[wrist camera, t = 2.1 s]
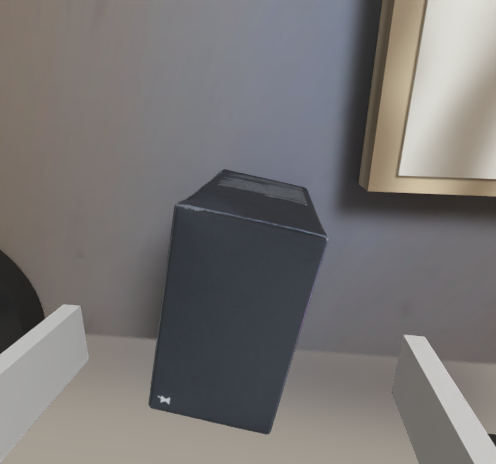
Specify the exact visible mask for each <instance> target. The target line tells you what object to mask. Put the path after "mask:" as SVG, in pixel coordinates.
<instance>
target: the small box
mask: <svg viewBox="0 0 496 464" xmlns="http://www.w3.org/2000/svg"><path fill="white" fill-rule="evenodd" d="M327 245H328V237H327V236H326V233H325V231H324V229H323V226H322V224H321V222H320V220H319V217H318V215H317V213H316V210H315V208H314V205H313V203H312V201H311V198H310V195H309V193H308V190H307V189H306V188H304V187H300V186H296V185H292V184H287V183H283V182H278V181H274V180H269V179H265V178H261V177H256V176H251V175H247V174H243V173H238V172H234V171H229V170H222V171H220V172H219V173H218V174H217V175H216V176H215V177H214V178H213V179H211V180H210V181H209V182H208V183H206V184H205V185H204V186H202V187H201V188H200V189H199V190H198V191H196V192H195V193H194V194H192V195H191V196H189V197H188V198H186V199H185V200H182V201H180V202H178V203H177V204H176V205H175V207H174V215H173V221H172V229H171V237H170V244H169V251H168V258H167V268H166V274H165V282H164V289H163V296H162V303H161V311H160V319H159V327H158V334H157V343H156V350H155V358H154V365H153V372H152V381H151V389H150V396H149V406H150V407H151V408H152V409H157V410H161V411H166V412H170V413H174V414H179V415H183V416H188V417H191V418H196V419H201V420H205V421H209V422H213V423H217V424H222V425H227V426H231V427H235V428H239V429H244V430H248V431H253V432H258V433H262V434H269V433H270V432H271V429H272V426H273V421H274V418H275V415H276V412H277V408H278V405H279V402H280V399H281V395H282V392H283V388H284V385H285V382H286V378H287V375H288V372H289V368H290V365H291V362H292V358H293V355H294V352H295V349H296V345H297V342H298V339H299V335H300V332H301V329H302V326H303V322H304V319H305V316H306V313H307V309H308V306H309V303H310V299H311V296H312V293H313V290H314V287H315V283H316V280H317V277H318V274H319V270H320V267H321V264H322V261H323V258H324V254H325V251H326V248H327Z"/></svg>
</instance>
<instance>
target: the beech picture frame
mask: <svg viewBox="0 0 496 464" xmlns="http://www.w3.org/2000/svg"><path fill="white" fill-rule="evenodd" d="M358 184H359V185H360V186H362V187H363V188H364V189H366V190H367V191H374V192H398V193H423V194H448V195H472V196H496V0H383V1H382V8H381V16H380V23H379V31H378V39H377V46H376V54H375V62H374V69H373V77H372V84H371V92H370V100H369V107H368V115H367V122H366V130H365V138H364V145H363V153H362V161H361V168H360V176H359V183H358Z"/></svg>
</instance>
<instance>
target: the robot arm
mask: <svg viewBox="0 0 496 464" xmlns="http://www.w3.org/2000/svg"><path fill="white" fill-rule="evenodd" d="M88 360H89V356H88V350H87V343H86V337H85V331H84V325H83V319H82V312H81V306H76V305H65V304H63V305H62V306H61V307H60V308H58V309H57V310H56V311H55V312H53V313H52V314H51V315H50V316H48V317H47V318H46V319H44V317H43V312H42V308H41V305H40V302H39V300H38V297H37V295H36V293H35V291H34V289H33V287H32V285H31V284H30V282H29V281H28V279H27V278H26V276H25V275H24V274H23V272H22V271H21V270H20V269H19V268H18V266H17V265H16V264H15V263H14V262H13V261H12V260H11V259H10V258H9V257H8V256H7V255H5V254H4V253H3V252H2V251H1V250H0V462H1V461H2V460H3V459H4V458H5V456H6V455H7V454H8V453H9V452H10V451H11V450H12V448H13V447H14V446H15V445H16V444H17V443H18V441H19V440H20V439H21V438H22V437H23V435H24V434H25V433H26V432H27V431H28V430H29V429H30V427H31V426H32V425H33V424H34V423H35V422H36V420H37V419H38V418H39V417H40V416H41V415H42V414H43V412H44V411H45V410H46V409H47V408H48V407H49V405H50V404H51V403H52V402H53V401H54V399H55V398H56V397H57V396H58V395H59V394H60V393H61V391H62V390H63V389H64V388H65V387H66V386H67V385H68V383H69V382H70V381H71V380H72V379H73V377H74V376H75V375H76V374H77V373H78V372H79V370H80V369H81V368H82V367H83V366H84V365H85V364H86V362H87V361H88ZM392 394H393V397H394V399H395V402H396V405H397V407H398V410H399V412H400V415H401V418H402V420H403V423H404V425H405V428H406V430H407V433H408V436H409V438H410V441H411V443H412V446H413V448H414V451H415V454H416V457H417V459H418V462H419V464H496V435H495V434H487V432H486V431H485V429H484V428H483V426H482V425H481V423H480V422H479V420H478V419H477V417H476V416H475V414H474V412H473V411H472V409H471V408H470V406H469V405H468V403H467V401H466V400H465V398H464V397H463V395H462V394H461V392H460V391H459V389H458V388H457V386H456V384H455V383H454V381H453V380H452V378H451V377H450V375H449V374H448V372H447V370H446V369H445V367H444V366H443V364H442V363H441V361H440V360H439V358H438V357H437V355H436V353H435V352H434V350H433V349H432V347H431V346H430V344H429V343H428V341H427V339H426V338H425V337H423V336H412V335H403V340H402V344H401V349H400V354H399V359H398V364H397V369H396V374H395V379H394V383H393V388H392Z"/></svg>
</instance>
